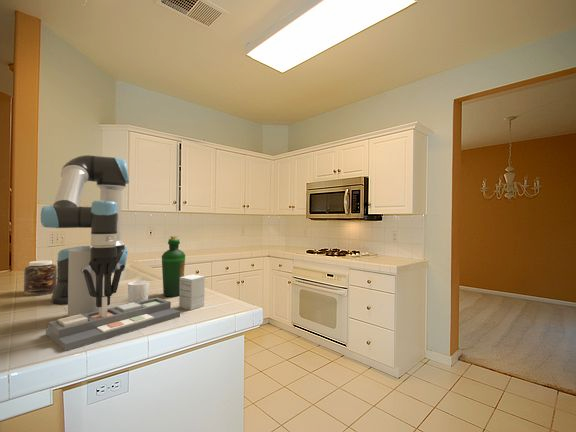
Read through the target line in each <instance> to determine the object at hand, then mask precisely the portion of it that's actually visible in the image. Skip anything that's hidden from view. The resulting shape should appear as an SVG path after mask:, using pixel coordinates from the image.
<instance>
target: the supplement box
mask: <svg viewBox="0 0 576 432" xmlns="http://www.w3.org/2000/svg"><path fill="white" fill-rule="evenodd" d="M178 304H179V308H180V309H181V308H182V309H184V310H190V311H192V310H195V309H198V308H201V307H204V306H205V276H204V275H198V274H189V275H184V277H180V295H179V303H178Z"/></svg>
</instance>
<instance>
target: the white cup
mask: <svg viewBox="0 0 576 432" xmlns="http://www.w3.org/2000/svg"><path fill="white" fill-rule="evenodd" d="M149 289H150V281H149V280H142V279H141V280H133V281H130V282H128V283H127V294H128V295H127V296H128V297H127V299H128V303H133V302H134V303H135V302H139V301H144V300H148V299H149Z"/></svg>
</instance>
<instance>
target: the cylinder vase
mask: <svg viewBox="0 0 576 432" xmlns="http://www.w3.org/2000/svg"><path fill="white" fill-rule="evenodd" d="M91 248H92V247H90V248H79V249H71V250H69V267H68V304H67V317H71V316H75V315H79V314H81V315H82V314H87V313H91V312H95V311H99V307H97V306H96V297H92V296H90V295H89V291H88V287H87V284H86V280H85V277H84V275H83V273H82V272H81V269H84V268H86V267H87V266H89V263H90V260H91ZM90 274H91V276H92V280H93V284H94V287H95V291H96V276H95V272H94V271H93V270H92V269H91V273H90ZM103 296H105V295H104V276H103ZM107 309H109V305H107Z"/></svg>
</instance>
